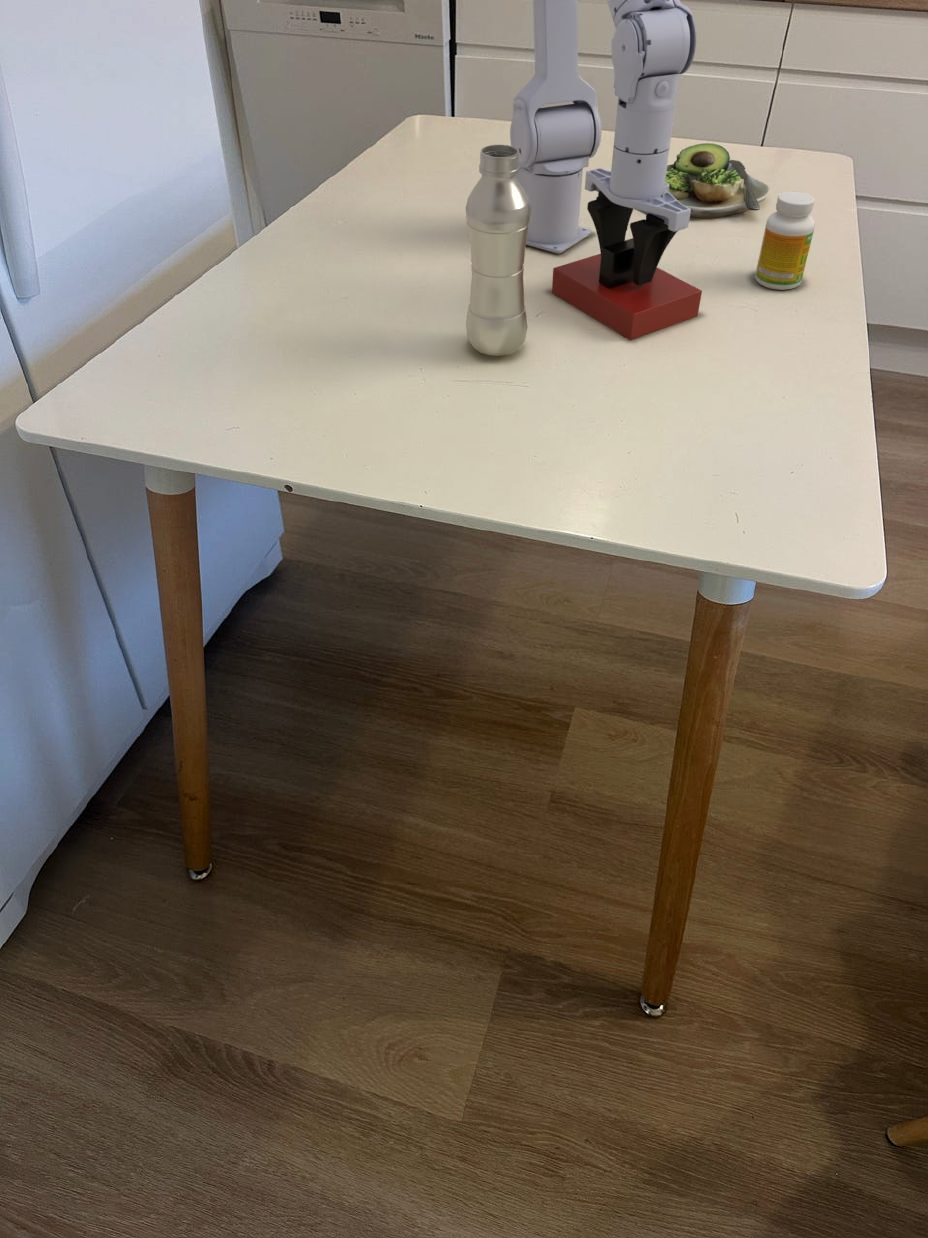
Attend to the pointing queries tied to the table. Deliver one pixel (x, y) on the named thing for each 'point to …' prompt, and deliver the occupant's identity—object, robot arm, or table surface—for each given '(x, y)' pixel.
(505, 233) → the metal water bottle
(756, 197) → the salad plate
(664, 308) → the red rectangular block
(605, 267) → the block
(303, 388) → the table surface
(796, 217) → the supplement bottle
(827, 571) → the table surface
